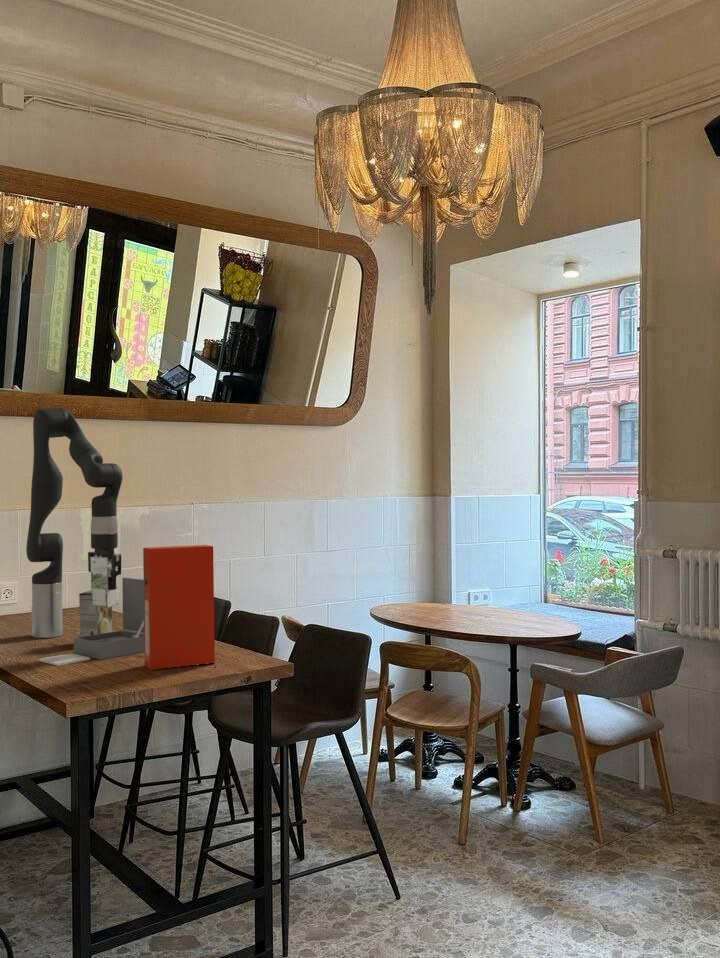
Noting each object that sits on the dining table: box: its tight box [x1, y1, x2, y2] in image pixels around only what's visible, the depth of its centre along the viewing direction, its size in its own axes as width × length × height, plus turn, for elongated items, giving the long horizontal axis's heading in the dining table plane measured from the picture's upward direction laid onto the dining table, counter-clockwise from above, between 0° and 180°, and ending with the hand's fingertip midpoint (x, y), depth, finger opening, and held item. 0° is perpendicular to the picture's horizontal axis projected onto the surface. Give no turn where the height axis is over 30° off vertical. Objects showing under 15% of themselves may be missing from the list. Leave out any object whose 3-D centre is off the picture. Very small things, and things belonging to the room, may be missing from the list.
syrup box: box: [90, 556, 119, 607], centre depth 258 cm, size 6×6×14 cm
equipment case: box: [73, 577, 145, 661], centre depth 260 cm, size 14×17×20 cm
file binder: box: [142, 544, 216, 671], centre depth 241 cm, size 8×17×32 cm, turn 116°
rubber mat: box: [38, 652, 91, 666], centre depth 248 cm, size 10×10×1 cm
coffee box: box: [78, 590, 113, 637], centre depth 274 cm, size 9×6×16 cm
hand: (104, 588), depth 258 cm, fingers closed on syrup box, 7 cm apart
